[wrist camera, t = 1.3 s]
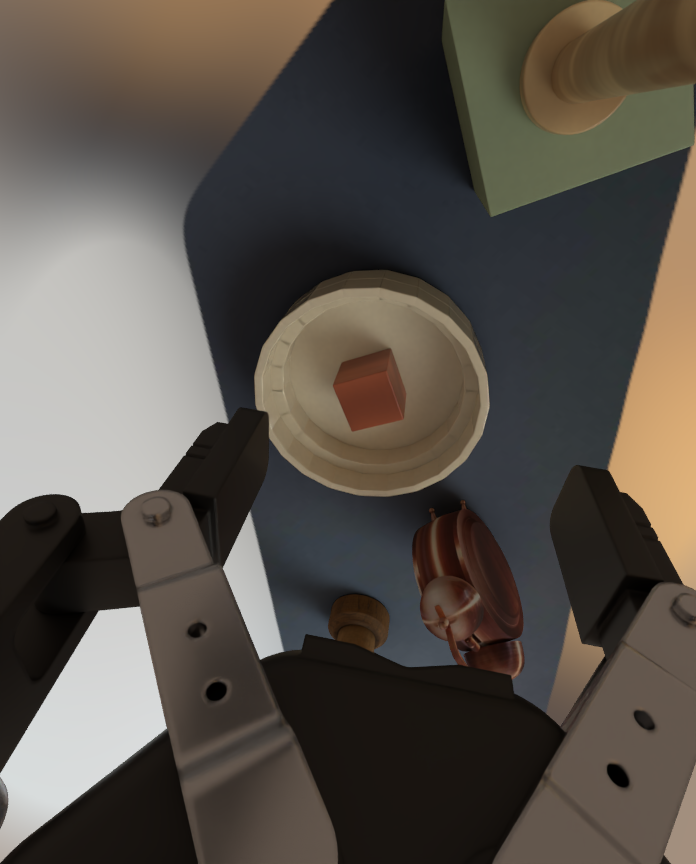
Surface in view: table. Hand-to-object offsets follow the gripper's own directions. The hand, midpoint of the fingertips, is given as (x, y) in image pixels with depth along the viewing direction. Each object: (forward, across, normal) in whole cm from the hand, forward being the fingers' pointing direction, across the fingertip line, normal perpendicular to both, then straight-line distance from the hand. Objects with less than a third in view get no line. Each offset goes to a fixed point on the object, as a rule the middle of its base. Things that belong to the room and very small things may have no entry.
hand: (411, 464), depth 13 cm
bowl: (+23, +2, +9) cm, 25 cm away
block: (+23, +2, +9) cm, 25 cm away
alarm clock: (+23, -8, +23) cm, 34 cm away
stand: (+24, -4, -10) cm, 26 cm away
